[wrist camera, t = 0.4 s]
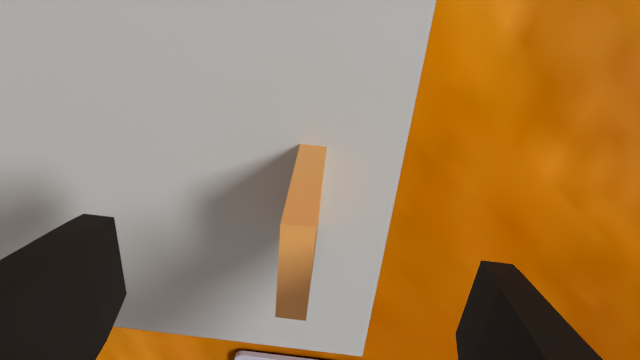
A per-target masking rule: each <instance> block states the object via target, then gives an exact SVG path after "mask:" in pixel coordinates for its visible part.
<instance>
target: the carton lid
mask: <svg viewBox="0 0 640 360" xmlns="http://www.w3.org/2000/svg"><path fill="white" fill-rule="evenodd" d="M435 4H436V0H0V260H1V259H2V258H4V257H6V256H8V255H10V254H11V253H13V252H15V251H17V250H18V249H20V248H22V247H24V246H25V245H27V244H29V243H31V242H32V241H34V240H36V239H38V238H39V237H41V236H43V235H45V234H46V233H48V232H50V231H52V230H53V229H55V228H57V227H59V226H61V225H62V224H64V223H66V222H68V221H70V220H72V219H74V218H76V217H78V216H80V215H82V214H91V215H100V216H108V217H114V220H115V226H116V232H117V238H118V244H119V250H120V256H121V262H122V268H123V274H124V280H125V286H126V292H127V295H126V297H125V299H124V302H123V304H122V307H121V309H120V311H119V314H118V316H117V318H116V321H115V323H114V325H113V326H115V327H123V328H131V329H140V330H148V331H156V332H164V333H173V334H181V335H189V336H197V337H206V338H214V339H222V340H230V341H239V342H247V343H255V344H263V345H272V346H280V347H288V348H296V349H305V350H313V351H321V352H329V353H337V354H346V355H354V356H362V355H363V350H364V345H365V341H366V336H367V331H368V326H369V321H370V317H371V312H372V307H373V302H374V297H375V293H376V288H377V283H378V278H379V273H380V269H381V264H382V259H383V254H384V249H385V245H386V240H387V235H388V230H389V225H390V220H391V216H392V211H393V206H394V201H395V196H396V192H397V187H398V182H399V177H400V172H401V168H402V163H403V158H404V153H405V148H406V144H407V139H408V134H409V129H410V124H411V120H412V115H413V110H414V105H415V100H416V96H417V91H418V86H419V81H420V76H421V72H422V67H423V62H424V57H425V52H426V48H427V43H428V38H429V33H430V28H431V24H432V19H433V14H434V9H435Z"/></svg>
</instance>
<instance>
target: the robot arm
mask: <svg viewBox="0 0 640 360" xmlns="http://www.w3.org/2000/svg"><path fill="white" fill-rule="evenodd" d="M126 295H127V292H126V286H125V280H124V274H123V268H122V262H121V256H120V250H119V244H118V238H117V232H116V226H115V220H114V217H108V216H100V215H91V214H82V215H80V216H78V217H76V218H74V219H72V220H70V221H68V222H66V223H64V224H62V225H61V226H59V227H57V228H55V229H53V230H52V231H50V232H48V233H46V234H45V235H43V236H41V237H39V238H38V239H36V240H34V241H32V242H31V243H29V244H27V245H25V246H24V247H22V248H20V249H18V250H17V251H15V252H13V253H11V254H10V255H8V256H6V257H4V258H2V259H1V260H0V360H95V359H96V358H97V356H98V354H99V353H100V351H101V349H102V347H103V346H104V344H105V342H106V340H107V338H108V336H109V334H110V332H111V330H112V327H113V325H114V323H115V321H116V318H117V316H118V314H119V311H120V309H121V307H122V304H123V302H124V299H125V297H126ZM456 341H457V351H458V360H603V359H602V358H601V357H600V356H599V355H598V354H597V353H596V352H595V351H594V350H593V349H592V348H591V347H590V346H589V345H588V344H587V343H586V342H585V341H584V340H583V339H582V338H581V337H580V335H579V334H578V333H577V332H576V331H575V330H574V329H573V328H572V327H571V326H570V325H569V324H568V323H567V322H566V321H565V319H564V318H563V317H562V316H561V315H560V314H559V313H558V312H557V311H556V310H555V309H554V308H553V307H552V305H551V304H550V303H549V302H548V301H547V300H546V299H545V298H544V297H543V296H542V295H541V293H540V292H539V291H538V290H537V289H536V288H535V287H534V286H533V285H532V284H531V283H530V282H529V280H528V279H527V278H526V277H525V276H524V275H523V274H522V273H521V272H520V271H519V270H518V269H517V268H516V267H515V266H514V265H513V264H505V263H497V262H489V261H481V263H480V266H479V268H478V271H477V274H476V277H475V280H474V283H473V286H472V289H471V291H470V294H469V297H468V300H467V303H466V306H465V309H464V311H463V314H462V317H461V320H460V323H459V326H458V329H457V331H456ZM234 360H317V359H309V358H300V357H292V356H284V355H276V354H268V353H259V352H251V351H238V352H237V353H236V354H235V358H234Z"/></svg>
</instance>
